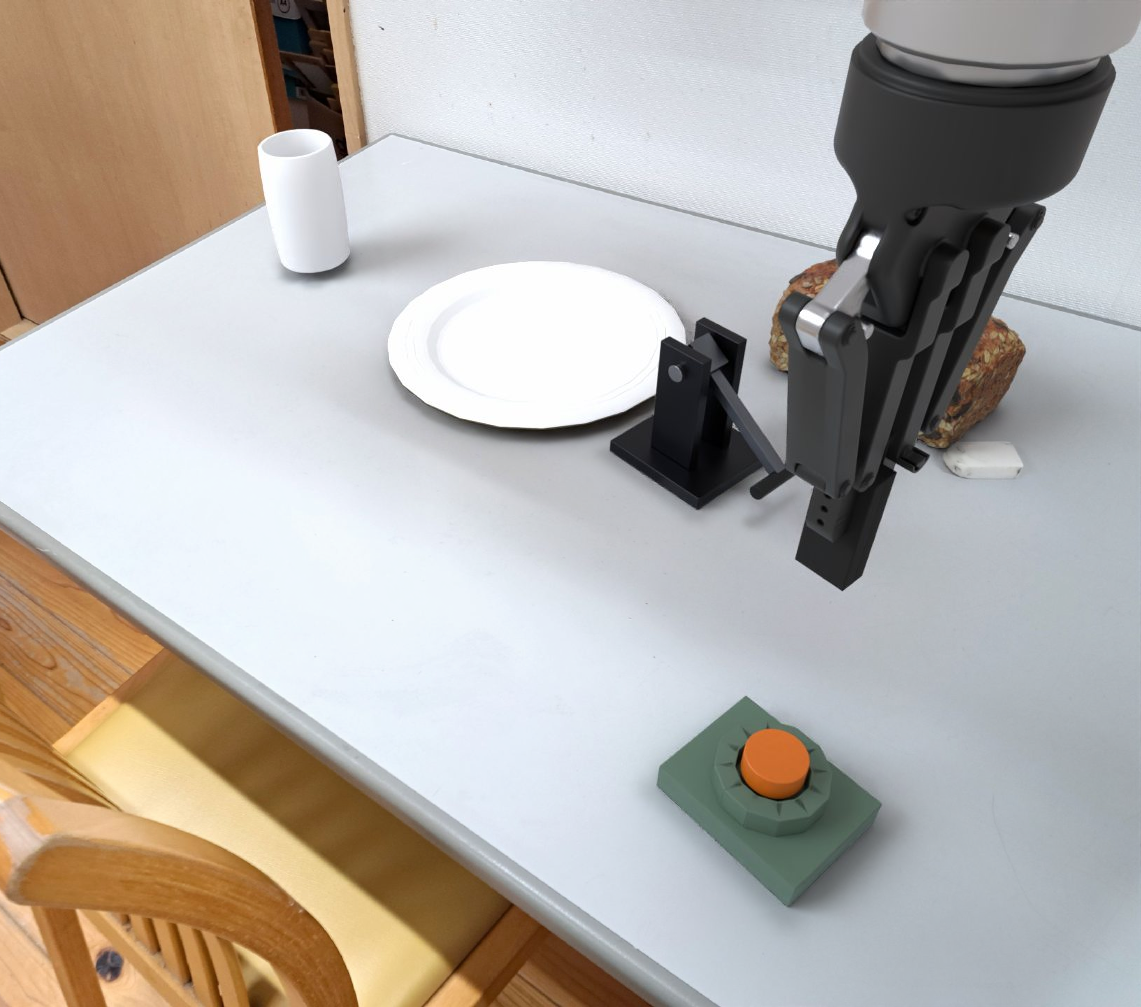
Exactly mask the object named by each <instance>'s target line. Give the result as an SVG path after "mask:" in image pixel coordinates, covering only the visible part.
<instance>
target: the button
mask: <svg viewBox="0 0 1141 1007" xmlns="http://www.w3.org/2000/svg"><path fill="white" fill-rule="evenodd" d="M809 766H810V758H809V754H808V752H807V750H806V748H805V746H804V745H803V743H802V742H801V741H800V740H799V739H797V738H796V737H795V736H793V735H792V734H790V733H788V732H785V731H782V730H778V729H764V730H760V731H758V732H756V733H754V734H753V735H752V736H751V737H750V738H749V739H748V740H747V742H746V744H745V748H744V752H743V756H742V760H741V773H742V776H743V778H744V780H745V781H746V783H747V784H748V785H749V786H750V787H751V788H752V789H753V790H754V791H755V792H757V793H758V794H760V795H762V796H765V797H768V798H772V799H784V798H788V797H791V796H793V795H795V794H796V793H797V792H799V790H800V789H801V788H802V786H803V784H804V781H805V778H806V775H807V772H808V769H809Z"/></svg>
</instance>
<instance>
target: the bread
mask: <svg viewBox="0 0 1141 1007" xmlns="http://www.w3.org/2000/svg"><path fill="white" fill-rule="evenodd" d="M838 268H839V267H838V265H837V261H836V257H835V258H833V259H828V260H825V261H822V262H815V263H814V264H812V265H811V266H810V267H808V268H806V269H805V270H803V271H802V272H801V273H798V274H796V275H794V276H793V277H792V278H791V279H789V280H788V286H787V287H786V289H785V290H783V291H782V296H781V297H780V299H779V300H778V302H777V305H776V307H775V309H774V312H773V315H772V317H771V321H772V322H771V323H772V325H771V328H770V338H769V340H768V343H767V344H768V346H769V356H770V357H769V358H770V362H771V363H772V364H773V365H774V366H775V367H776V368H777V369H778V371H779V372H786V371H787V372H788V351H789V345H788V343H787V340H786V338H785V336H784V334H783V331H782V329H781V327H780V324H779V322H778V313H779V309H780V307H781V305H782V303H783V302H784V300H785V299H786V298H787V297H788V296H789V295H790V294H791V293H793V292H794V291H799V292H801V293H803V294H805V295H807V296H809V297H811V298H814V297H815V296H816V295H817V294H818V293H819V292H820V290H821V289H822V288H823V287H824V285H825V284H826V283H827V282H828V280H829V279H830V278H831V277H832V275H833V274H834V273H835V272H836V271H837V269H838ZM1026 353H1027V349H1026V346H1025V344H1024V342H1023V341H1022V340H1021V339H1020V337H1019V333H1018V332H1016V331H1015V330H1013V329H1011V328H1009V326H1008V324H1007V323H1006V322H1005V321H1003V319H1001V318H996V317H994V316H993V315H991V317H990V319H989V321H988V323H987V325H986V328H985V330H984V332H983V334H982V336H981V338H980V340H979V342H978V344H977V346H976V348H975V351H974V353H973V355H972V357H971V359H970V361H969V363H968V365H967V367H966V369H965V371H964V374H963V376H962V378H961V380H960V382H959V384H958V386H957V388H956V390H955V392H954V395H953V397H952V399H951V401H950V403H949V405H948V407H947V409H946V411H945V413H944V415H943V418H942V420H941V423H940V425H939V426H938V427H937V429H936V430H935V431H934V432H932V433H930V434H929V435H926V434H924V433H922V432H920V431H919V434H918V437H917V439H918V440H920V441H923V442H924V443H925V444H927V445H928V446H929V447H932V448H937V449H938V448H939V449H945V448H949V447H950V446H951V444H952V443H953V442H956V441H959V439H961V438H962V437H963V435H964V434H965V433H966V432H967V430H968V429H970V428H972V427H973V426H974V425H975V424H977V422H981V421H983V420H984V419H985V418H986V417H988V415H990V414H991V413H993V412H994V410H995V409H996V408H997V407H998V406H999V404H1000V403H1001V401H1002V400H1003V398H1004V397H1005V395H1006V394H1007V392H1009V390H1010V388H1011V385H1012V383H1013V382H1014V380H1015V377H1016V375H1017V372H1018V370H1019V367H1020V366H1021V364H1022V363H1023V359H1024V357H1025V355H1026Z"/></svg>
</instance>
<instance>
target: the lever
mask: <svg viewBox="0 0 1141 1007" xmlns="http://www.w3.org/2000/svg"><path fill="white" fill-rule="evenodd" d="M686 345H687V346H689V347H690V348H692V349H694V350H696V351H698V352H700V353H701V354H703V355H705V356H707V357H709V358H711V359H712V365H711V372H710V379H709V387H710V389H711V390H712V392H713V393H714V395H715V396H716V398H717V399H718V401H719V402H720V404H721V405H722V407H723V408H724V409H725V411H726V412H727V414H728V415H729V417H730V418H731V420H732V421H733V425H734V426H735V427H736V430H737V431H739V432H740V433H741V435H742V436H743V437H744V439H745V440H746V442H747V443H748V445H749V446H750V448H751V449H752V451H753V452H754V454H755V455H756V457H757V458H758V460H759V461H760V463H761V464H762V465H763V466H762V467H763V468H764V470H765V472H766V473H767V475H766V476H764V477H763V478H761V479H760V480H759V481H757V482H756V483H754V484H752V485H750V487H749V489H748V490H749V494H750V496H751V498H753V499H754V500H757V501H761V500H762V499H764V498H765V497H766V496H768V495H769V494H771V493H772V492H773V491H775V490H776V489H778V488H779V487H781V486H783V485H784V484H785V483H787V482H788V481H789V480H791V479H792V478H794V477H795V476H796V475H794V474H793V473H791V472H789V471H788V470H786V462H785V463H784V461H783V460H782V459H781V457H780V456H779V454H778V453H777V451H776V450H775V448H774V447H773V445H772V444H771V442H770V441H769V439H768V438H767V437H766V435H765V433H764V432H763V430H762V429H761V428H760V426H759V424H758V423H757V422H756V420H755V418H754V417H753V416H752V414H751V413H750V411H749V410H748V408H747V407H746V405H745V404H744V402H743V401H742V399H741V398H740V397H739V394H738V395H737V394H736V392H735V391H734V390H733V388H732V387H731V385H730V384H729V382H728V381H727V379H726V378H725V376H724V375H723V373H722V372H721V370H720V368H721V367H723V366H724V365H725V364H727V363H728V360H727V358H726V357H725V355H724V354H723V352H722V351H721V349H720V348H719V346H718V345H717V344H716V342H715V341H714V339H713V338H712V336H711V335H710V333H707V334H705V335H703V336H701V337H699V338H698V339H696V340H694V339H693V340H692V341H691V342H689V343H688V344H686Z"/></svg>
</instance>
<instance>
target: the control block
mask: <svg viewBox="0 0 1141 1007" xmlns="http://www.w3.org/2000/svg"><path fill="white" fill-rule="evenodd" d="M764 729H778V730H782V731H785V732H788V733H790V734H792V735H793V736H795V737H796V738H797V739H799V740H800V741H801V742H802V743H803V745H804V746H805V748H806V750H807V752H808V754H809V758H810V766H809V769H808V772H807V775H806V778H805V781H804V784H803V786H802V788H801V789H800V790H799V792H797V793H796V794H795V795H793V796H791V797H788V798H784V799H772V798H768V797H765V796H762V795H760V794H758V793H757V792H755V791H754V790H753V789H752V788H751V787H750V786H749V785H748V784H747V783H746V781H745V780H744V778H743V776H742V773H741V760H742V756H743V752H744V748H745V744H746V742H747V740H748V739H749V738H750V737H751V736H752V735H753V734H754V733H756V732H758V731H760V730H764ZM656 786H657V787H658V788H659V789H660V790H661V791H662V792H663V793H664V794H665V795H666V796H668V797H669V798H670V799H671V800H672V801H673V802H674V803H675V804H676V805H677V806H678V807H679V808H681V810H682V811H683V812H685V813H686V815H688V816H689V817H690V818H691V819H692V820H693V821H694V822H695V823H697V824H698V825H699V827H701V829H703V830H704V831H705V832H706V833H707V834H708V835H709V836H710V837H711V838H713V839H714V841H715V842H717V843H718V844H719V845H720V846H721V847H722V848H723V849H724V850H725V851H727V853H728V854H730V855H731V856H732V857H733V858H734V859H735V860H736V861H737V862H738V863H740V865H741V866H743V868H745V869H746V871H748V872H749V873H750V874H751V875H752V876H753V877H754V878H755V879H757V880H758V882H760V884H761V885H763V886H764V887H765V888H766V889H767V890H769V891H770V893H771V894H773V895H774V897H776V898H777V899H778V900H779V901H780V902H781V903H782V904H783V905H784V906H786V907H787V908H789V907H790V906H791V905H792V904H793V903H794V902H795V901H796V900H798V898H799V897H800V896H801V895H802V894H804V892H805V891H807V889H808V888H809V887H810V886H812V884H813V883H814V882H815V881H816V880H818V879H819V877H821V875H822V874H823V873H824V872H826V870H827V869H828V868H829V867H830V866H831V865H832V864H834V863H835V862H836V860H838V859H839V858H840V857H841V855H843V854H844V853H845V852H846V851H847V850H848V849H849V848H850V847H851V846H852V845H853V844H854V843H855V842H856V841H857V840H858V839H859V838H860V837H861V836H862V835H863V834H864V833H865V832H866V831H867V830H868V829H869V828H870V827H871V826H872V825H873V824H875V821H876V819H877V816H878V814H879V812H880V810H881V808H882V805H883V803H882V802H881V801H880V800H879V799H877V797H875V796H873V795H872V794H871V793H870V792H869V791H867V790H866V789H864V788H863V787H862V786H861V785H860V784H859V783H857V782H855V780H853V779H852V778H851V777H849V776H848V775H847V774H846V773H845V772H843V771H842V770H841V769H839V767H837V766H836V765H834V764H833V763H832V762H830V761H829V760H828V759H827V757H826V755H825V753H824V751H823V749H822V747H821V746H820V744H818V743H817V742H815V740H813V739H812V738H810V737H809V735H806V734H805V733H804V732H803V731H801V730H800V729H799V728H797V727H795V726H793V725H789V724H785V723H782V722H780V721H779V720H778V719H776V717H774V716H773V715H771V714H770V713H769V712H767V710H766V709H764V708H763V707H762V706H760V705H759V704H758V703H756V702H755V701H754V700H753V699H752V698H750V697H749V696H748V695H745V696H743V697H742V698H741V699H739V700H738V701H737V702H736V703H735V704H734V705H733V706H731V707H730V708H729V709H728V710H726V711H725V712H724V713H722V714H721V715H720V716H718V718H716V719H715V720H714V721H713V722H711V724H709V725H708V726H707V727H706V728H704V729H703V730H702V731H700V732H699V733H698V734H697V735H696V736H694V737H693V738H692V739H691V740H689V741H688V742H687V743H686V744H684V745H683V746H682V747H681V748H680V749H679V750H677V751H676V752H675V753H674V754H672V755H671V756H670V757H668V758H667V759H666V760H665V761H663V763H662V764H660V765H659V767H658V773H657V779H656Z"/></svg>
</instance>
